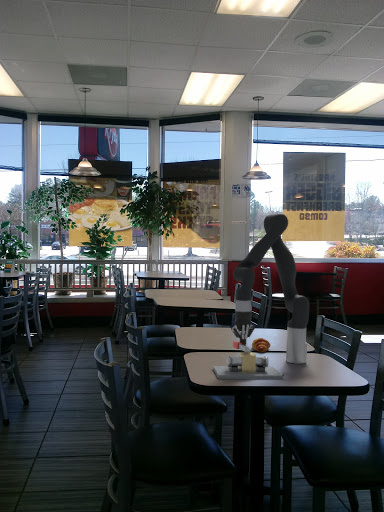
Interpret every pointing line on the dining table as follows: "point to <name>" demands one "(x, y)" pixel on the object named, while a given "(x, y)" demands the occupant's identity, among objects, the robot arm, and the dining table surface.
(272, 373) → the slate board
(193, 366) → the dining table surface
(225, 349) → the dining table surface
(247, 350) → the lever
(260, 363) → the valve pipe
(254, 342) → the croissant
